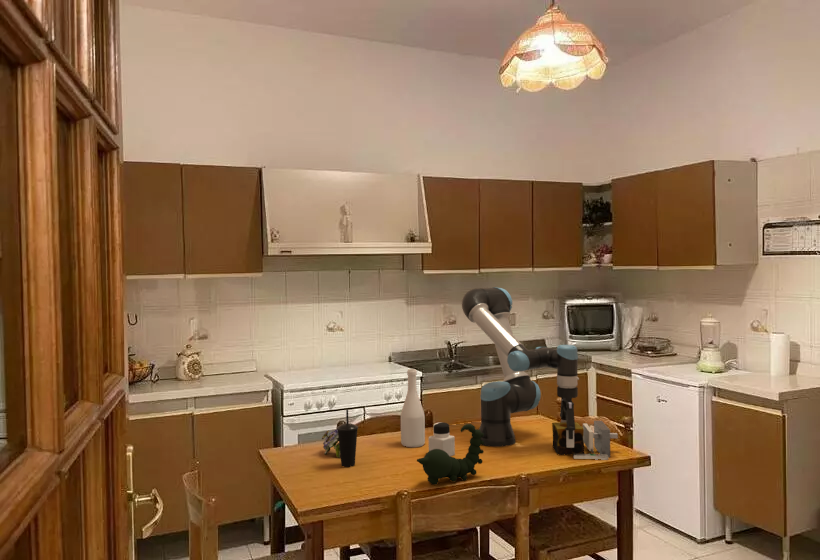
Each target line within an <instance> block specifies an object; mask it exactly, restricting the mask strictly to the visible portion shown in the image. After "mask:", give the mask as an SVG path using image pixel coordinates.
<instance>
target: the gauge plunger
mask: <svg viewBox="0 0 820 560" xmlns="http://www.w3.org/2000/svg"><path fill="white" fill-rule="evenodd" d="M582 427H583V429H584V432H583V433H584V435H583V441H584V446H586V447H585V448H587V450H588V451H589V452H591V454H595V451H594V450H595V447H594V438H598V433H594V430H592V428H591V426H589V424H588V423H582ZM610 439H619V434H618V433H617V432H610Z"/></svg>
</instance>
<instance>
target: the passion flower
mask: <svg viewBox="0 0 820 560" xmlns="http://www.w3.org/2000/svg"><path fill="white" fill-rule="evenodd" d="M324 439H325V440H324ZM321 440H324V442H323V443H322V445H323V446H322V448H323V450H325V451H324V455H328V453H329V452H330V450H331V448H333V449H334V450H335V454H336V455H335V456H336V458H337V459H341V457H340V447H339V438H338V430H337V429H335V430H333V431H331V432H330V433H329V430H326V431H325V432H324V433H323V435H322V438H321Z"/></svg>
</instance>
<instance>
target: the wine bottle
mask: <svg viewBox="0 0 820 560" xmlns="http://www.w3.org/2000/svg"><path fill="white" fill-rule="evenodd" d="M406 372H407V373H406V374H407V391H406V392H407V393H406V396H405V399H404V402H403V406H402V409H401V413H400V444H401V445H402V446H404V447H405V446H406V448H418V447H419V448H420V447H422V446H424V445H425V443H426V429H425V428H426V426H425V424H426V422H425V419H426V417H425V411H424V408H423V406H422V403H421V400H420V397H419V394H418V390H417V375H418V373H417V369H415V368H408V369H407V371H406Z"/></svg>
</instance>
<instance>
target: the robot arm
mask: <svg viewBox="0 0 820 560" xmlns="http://www.w3.org/2000/svg"><path fill="white" fill-rule="evenodd" d="M461 308H462V309H461V310H462V312H463V314H464V315H465V317H466V318H467V319H468V320H469V321H470V322H471V323H474V324H476V325H477V326H478V327H479V328H480V330H482V332H483V333H484V334H485V335H486V336H487V337H488V338H489V339H490V340H491V341H492V342H493V343H494V347H495V349H496V354H497V357H498V360H499V364H500V367H501V370H502V374H503V379H502V381H501V380H498V381H491V382H487V383H485V384H483V385H482V387H481V389H480V397H479V398H480V410H481V411H480V417H481V418H480V421H481V422H480V425H479V428H478V430H480V431H481V433H483V434H484V436H483V437H481V440H483V441H484V444H483V445H482V446H485V447H496V448H497V447H499V448H502V447H508V446H512V445H514V444H515V443H516V435H515V432H514V430H513V426H512V424H511V414H515V413H519V412H527V411H530V410H533V409H535V408H537V407H538V405H539V404H540V401H541V397H542V395H541V389H540V387H539V384H538V383H537V382H535V381H533V380H532V379H531V376H530V374H528V373H527V372H525V371H532V370H537V369H545V368H551V369H556V371H557V372H556V385H557V387H556V395H557V397H559V398H561V399H560V414H559V416H560V422H566V423H567V428H565V430H566V447H567V448H574V430H575V410H574V409H575V407H574V405H575V403H574V402H573V400H572V399H576V398H578V394H579V392H578V391H579V390H578V385H579V384H578V381H579V380H580V378H579V377H578V375H579V374H578V366H579V364H578V363H579V362H578V361H579V356H578V355H579V354H578V347H577V346H575V345H573V344H560V345H559V344H558V345H557V348H552V347H547V346H537V347H535V348H533V349H528V348H526V347H525V346H524V345H523V344H522V343H521V341H519V340H518V338H516V336H515V335H514V334H513V330H512V327H511V324H510V320H509V317H510V316H511V311H512V308H513V298H512V296H511V294H510V293H509V292H508V290H507V289H504V288H502V287H496V286H495V287H484V288H483V287H482V288H481V287H477V288H472V289H470V290H468V291H466V293H465V294H464V295H463V297H462V300H461Z"/></svg>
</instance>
